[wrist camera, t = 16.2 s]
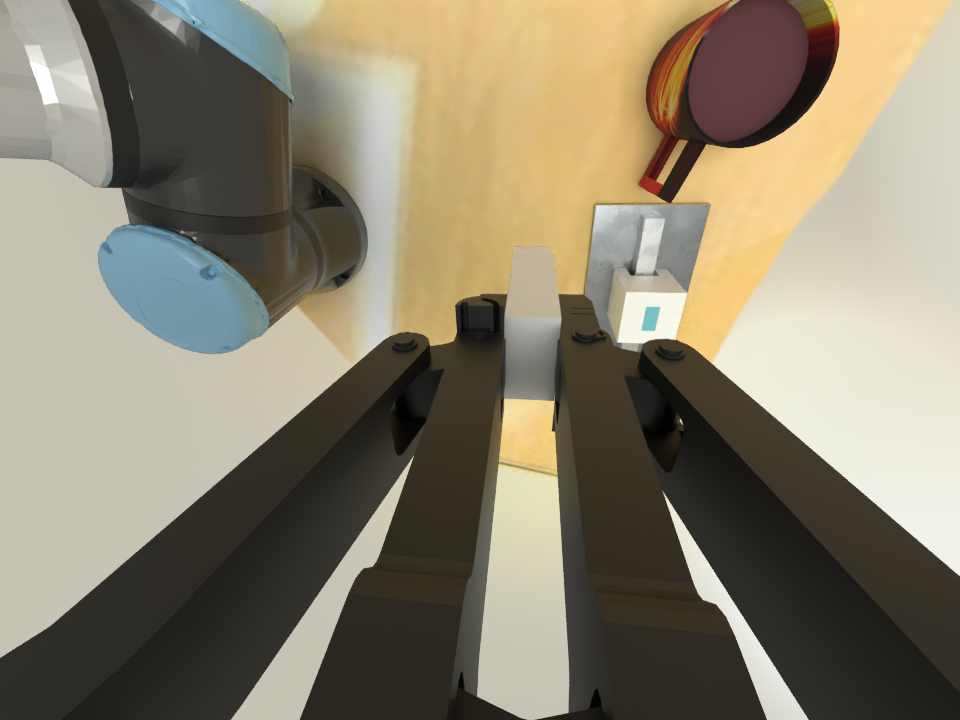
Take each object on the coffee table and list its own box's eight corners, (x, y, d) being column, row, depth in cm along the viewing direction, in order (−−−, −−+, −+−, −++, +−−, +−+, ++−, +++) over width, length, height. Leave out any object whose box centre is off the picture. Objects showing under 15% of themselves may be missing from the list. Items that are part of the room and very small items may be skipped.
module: (606, 313, 50) (617, 342, 44) (614, 268, 47) (626, 292, 41) (655, 314, 50) (673, 344, 43) (666, 268, 46) (687, 293, 40)
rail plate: (576, 354, 55) (578, 366, 53) (594, 203, 44) (598, 209, 42) (666, 358, 54) (673, 370, 51) (707, 202, 43) (717, 208, 41)
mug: (635, 187, 43) (666, 210, 33) (652, 24, 36) (697, -10, 26) (731, 179, 42) (793, 200, 32) (768, 9, 35) (864, -35, 24)
